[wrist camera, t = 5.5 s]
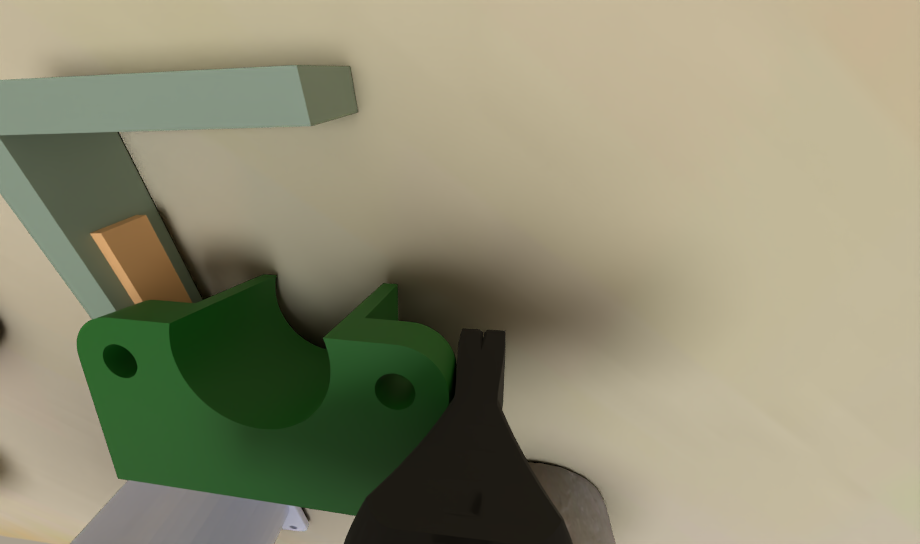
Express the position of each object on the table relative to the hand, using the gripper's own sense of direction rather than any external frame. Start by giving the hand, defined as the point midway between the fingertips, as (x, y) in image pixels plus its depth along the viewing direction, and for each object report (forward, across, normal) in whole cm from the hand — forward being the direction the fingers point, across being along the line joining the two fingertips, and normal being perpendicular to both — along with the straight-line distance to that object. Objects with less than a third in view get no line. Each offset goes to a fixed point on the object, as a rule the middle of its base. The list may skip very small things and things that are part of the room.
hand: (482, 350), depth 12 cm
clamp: (+2, +6, +1) cm, 7 cm away
